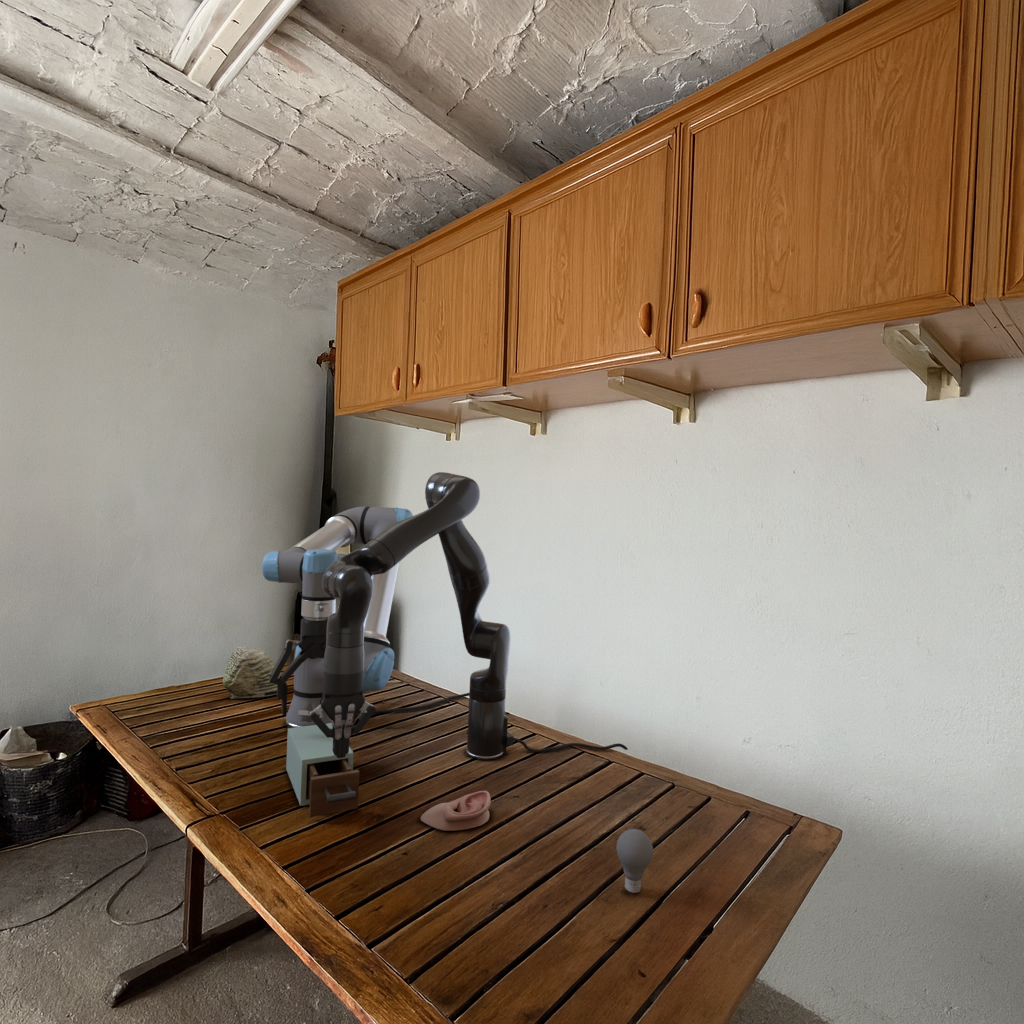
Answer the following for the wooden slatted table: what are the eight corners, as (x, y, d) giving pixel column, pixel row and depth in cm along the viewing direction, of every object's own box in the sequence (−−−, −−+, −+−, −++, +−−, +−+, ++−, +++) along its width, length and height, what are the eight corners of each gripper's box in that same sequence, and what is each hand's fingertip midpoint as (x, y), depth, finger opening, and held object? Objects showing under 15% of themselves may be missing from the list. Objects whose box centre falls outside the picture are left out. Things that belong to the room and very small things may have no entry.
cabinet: (351, 797, 134) (353, 752, 134) (300, 806, 129) (302, 760, 129) (332, 762, 151) (333, 722, 151) (286, 769, 146) (287, 728, 146)
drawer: (365, 821, 123) (366, 783, 122) (315, 831, 118) (317, 791, 118) (338, 773, 143) (339, 740, 143) (295, 779, 139) (296, 746, 139)
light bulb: (610, 879, 108) (613, 822, 108) (644, 879, 109) (647, 822, 109) (619, 902, 102) (622, 840, 102) (655, 901, 103) (658, 840, 103)
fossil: (218, 695, 195) (220, 647, 195) (278, 685, 208) (279, 640, 207) (228, 703, 189) (230, 653, 188) (289, 692, 201) (290, 645, 201)
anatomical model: (415, 806, 123) (434, 781, 134) (414, 826, 123) (433, 799, 134) (481, 816, 120) (495, 789, 132) (480, 836, 120) (494, 808, 132)
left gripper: (262, 623, 136) (258, 721, 136) (376, 617, 147) (373, 708, 148) (258, 616, 142) (254, 710, 143) (368, 611, 154) (364, 698, 154)
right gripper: (312, 675, 115) (308, 769, 116) (383, 669, 122) (379, 758, 122) (304, 665, 122) (301, 754, 122) (372, 659, 128) (369, 744, 129)
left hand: (315, 709), depth 145 cm, fingers open, 13 cm apart
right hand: (340, 756), depth 122 cm, fingers closed
